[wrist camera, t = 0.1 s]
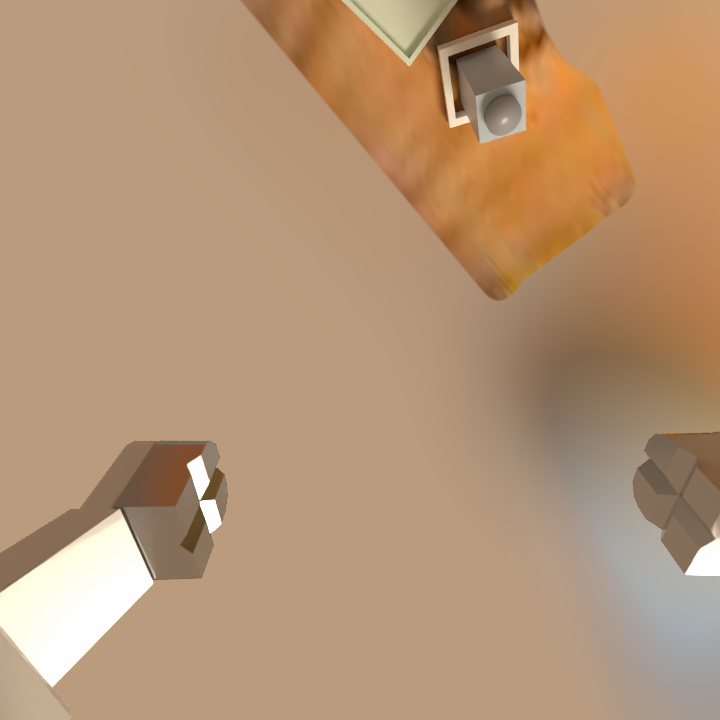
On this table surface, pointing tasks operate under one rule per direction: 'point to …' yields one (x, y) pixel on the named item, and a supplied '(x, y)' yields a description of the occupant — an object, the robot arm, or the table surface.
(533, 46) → the table surface
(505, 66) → the cartridge
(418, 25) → the tray
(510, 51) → the socket collar
